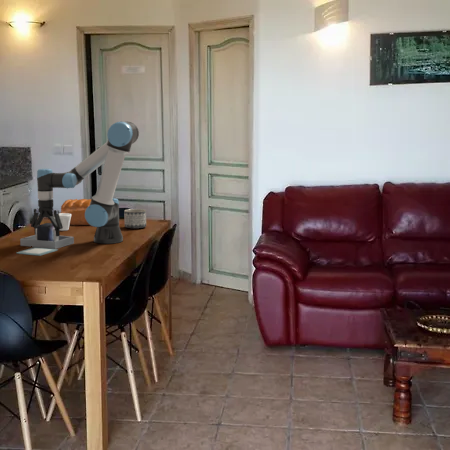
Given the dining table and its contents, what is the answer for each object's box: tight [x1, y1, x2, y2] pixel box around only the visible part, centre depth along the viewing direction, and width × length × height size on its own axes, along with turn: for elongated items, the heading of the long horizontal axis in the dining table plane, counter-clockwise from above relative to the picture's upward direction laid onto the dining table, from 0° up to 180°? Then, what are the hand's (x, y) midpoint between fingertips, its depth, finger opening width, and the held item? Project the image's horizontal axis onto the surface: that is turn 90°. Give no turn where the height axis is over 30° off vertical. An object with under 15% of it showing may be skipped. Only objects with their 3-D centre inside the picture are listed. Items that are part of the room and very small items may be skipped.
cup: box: [54, 212, 71, 232], centre depth 380 cm, size 10×10×9 cm
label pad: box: [16, 247, 59, 257], centre depth 321 cm, size 14×14×1 cm
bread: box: [60, 198, 92, 226], centre depth 402 cm, size 14×26×16 cm, turn 86°
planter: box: [123, 208, 147, 230], centre depth 389 cm, size 13×13×10 cm
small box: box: [37, 222, 55, 242], centre depth 338 cm, size 11×6×10 cm, turn 168°
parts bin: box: [19, 234, 75, 249], centre depth 339 cm, size 22×16×4 cm
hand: (47, 241), depth 339 cm, fingers open, 11 cm apart
